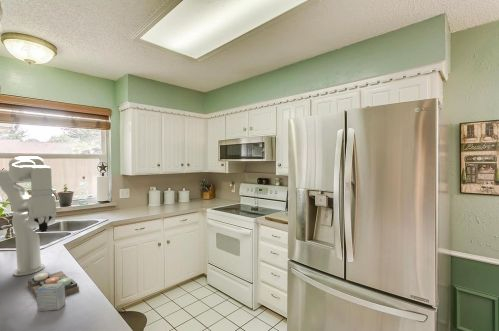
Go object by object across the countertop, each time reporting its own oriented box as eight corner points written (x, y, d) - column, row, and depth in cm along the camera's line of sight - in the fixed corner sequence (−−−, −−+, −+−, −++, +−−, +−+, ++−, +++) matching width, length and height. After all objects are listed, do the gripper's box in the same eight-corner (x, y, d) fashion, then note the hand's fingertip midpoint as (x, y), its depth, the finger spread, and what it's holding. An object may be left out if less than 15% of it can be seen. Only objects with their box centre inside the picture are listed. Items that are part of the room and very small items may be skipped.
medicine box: (66, 304, 102) (64, 282, 101) (58, 310, 97) (56, 288, 97) (45, 305, 101) (44, 283, 101) (36, 311, 97) (35, 289, 97)
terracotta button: (44, 284, 115) (44, 280, 114) (57, 280, 118) (57, 275, 118) (47, 287, 111) (46, 283, 111) (60, 283, 115) (60, 278, 115)
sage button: (55, 285, 111) (55, 281, 111) (69, 281, 115) (69, 276, 115) (59, 289, 108) (58, 284, 108) (72, 284, 112) (72, 280, 112)
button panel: (27, 285, 118) (27, 278, 118) (61, 275, 128) (61, 268, 128) (41, 304, 102) (41, 296, 102) (79, 291, 112) (78, 283, 112)
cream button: (33, 279, 118) (32, 275, 118) (46, 275, 122) (46, 271, 121) (35, 282, 114) (35, 278, 114) (49, 278, 118) (49, 274, 118)
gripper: (58, 190, 127) (60, 226, 128) (19, 193, 116) (20, 233, 117) (63, 191, 122) (64, 229, 123) (22, 195, 111) (24, 237, 112)
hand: (43, 231), depth 120 cm, fingers closed
